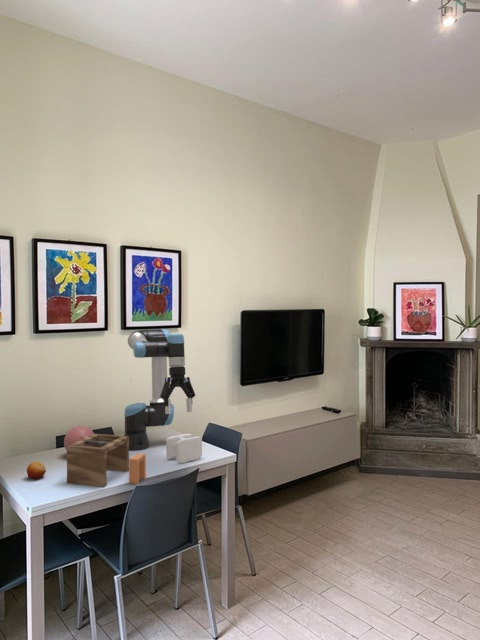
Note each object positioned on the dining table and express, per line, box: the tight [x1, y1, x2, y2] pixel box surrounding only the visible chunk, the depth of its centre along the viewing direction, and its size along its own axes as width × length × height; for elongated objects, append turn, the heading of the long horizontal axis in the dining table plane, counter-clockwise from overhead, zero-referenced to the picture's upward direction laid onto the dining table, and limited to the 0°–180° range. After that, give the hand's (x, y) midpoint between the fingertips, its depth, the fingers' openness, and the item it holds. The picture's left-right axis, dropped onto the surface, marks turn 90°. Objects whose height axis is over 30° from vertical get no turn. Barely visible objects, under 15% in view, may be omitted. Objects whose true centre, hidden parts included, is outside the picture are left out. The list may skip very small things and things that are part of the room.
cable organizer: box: [165, 433, 203, 464], centre depth 239 cm, size 15×11×12 cm
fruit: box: [26, 461, 47, 480], centre depth 212 cm, size 8×8×8 cm
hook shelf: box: [66, 433, 130, 488], centre depth 214 cm, size 22×18×16 cm
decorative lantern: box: [63, 425, 95, 451], centre depth 243 cm, size 15×20×15 cm
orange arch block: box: [128, 453, 147, 485], centre depth 209 cm, size 4×8×10 cm, turn 165°
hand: (179, 413), depth 219 cm, fingers open, 13 cm apart
